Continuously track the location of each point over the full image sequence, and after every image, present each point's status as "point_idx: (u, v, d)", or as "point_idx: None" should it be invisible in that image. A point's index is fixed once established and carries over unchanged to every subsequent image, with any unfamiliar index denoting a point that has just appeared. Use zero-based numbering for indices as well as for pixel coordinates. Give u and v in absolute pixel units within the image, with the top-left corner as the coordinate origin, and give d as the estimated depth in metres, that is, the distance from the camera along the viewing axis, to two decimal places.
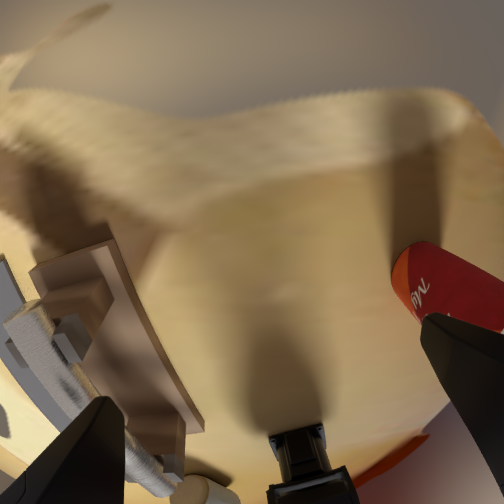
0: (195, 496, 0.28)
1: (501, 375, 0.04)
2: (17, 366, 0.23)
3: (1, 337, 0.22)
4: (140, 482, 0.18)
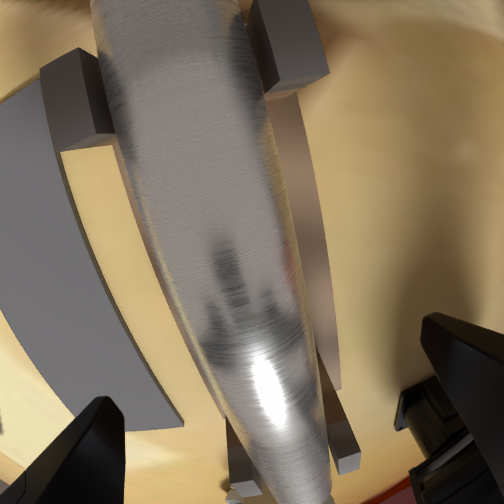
0: None
1: (501, 375, 0.04)
2: (16, 299, 0.14)
3: None
4: (294, 491, 0.09)
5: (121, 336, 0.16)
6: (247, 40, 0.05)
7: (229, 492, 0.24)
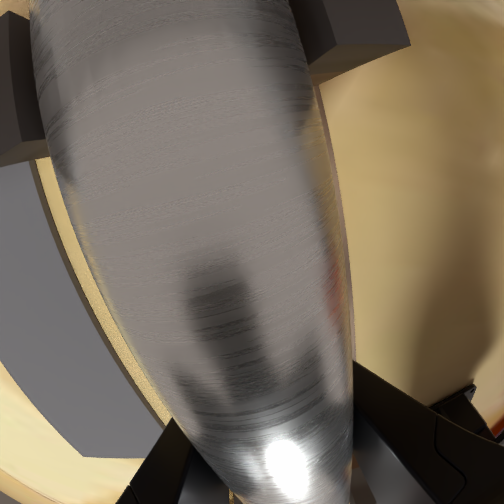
0: None
1: (377, 443, 0.04)
2: None
3: None
4: None
5: (112, 367, 0.13)
6: None
7: None
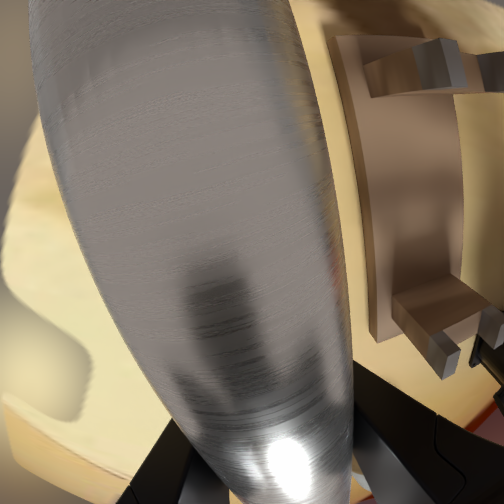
0: None
1: (377, 443, 0.04)
2: None
3: None
4: None
5: None
6: None
7: None
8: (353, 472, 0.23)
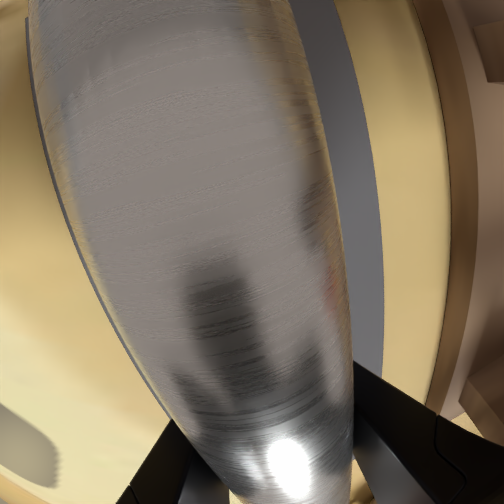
0: None
1: (377, 443, 0.04)
2: None
3: None
4: None
5: (374, 353, 0.11)
6: None
7: None
8: None
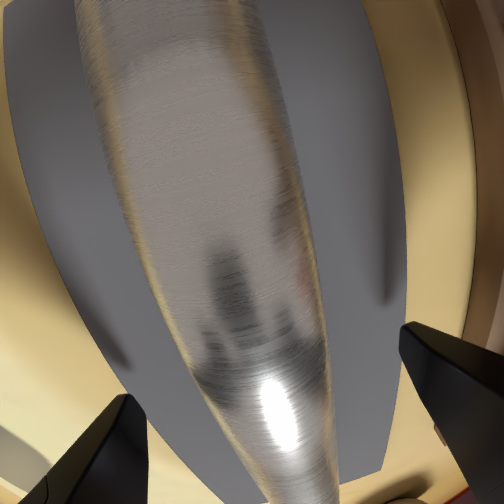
0: None
1: (476, 392, 0.04)
2: (172, 346, 0.08)
3: None
4: None
5: (391, 377, 0.09)
6: (261, 20, 0.03)
7: None
8: None
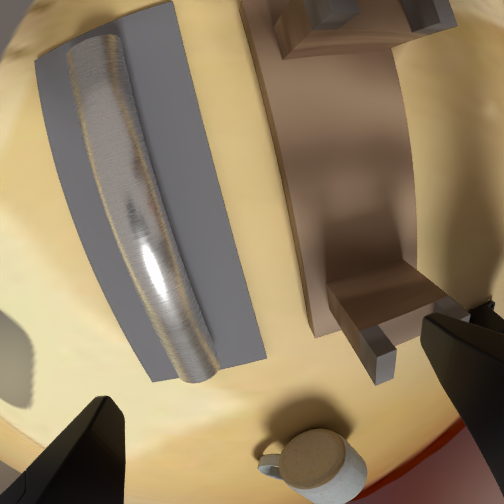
0: (327, 456, 0.22)
1: (501, 375, 0.04)
2: (104, 213, 0.16)
3: None
4: (174, 341, 0.16)
5: (228, 245, 0.17)
6: (123, 78, 0.12)
7: (262, 458, 0.26)
8: (288, 484, 0.22)
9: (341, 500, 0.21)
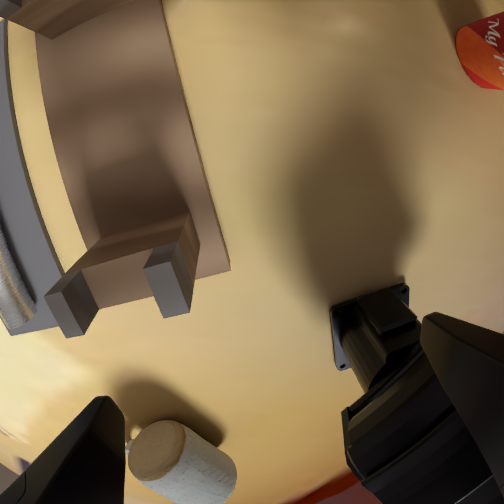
0: (163, 450, 0.20)
1: (501, 375, 0.04)
2: None
3: None
4: None
5: (29, 204, 0.16)
6: None
7: (127, 443, 0.24)
8: None
9: None
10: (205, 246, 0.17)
